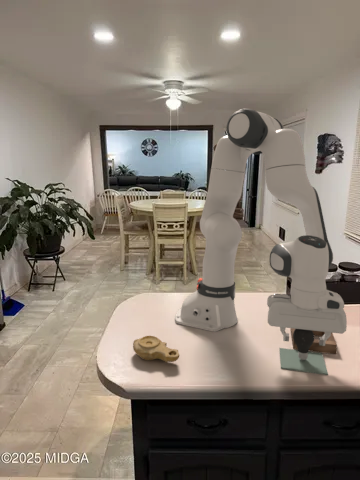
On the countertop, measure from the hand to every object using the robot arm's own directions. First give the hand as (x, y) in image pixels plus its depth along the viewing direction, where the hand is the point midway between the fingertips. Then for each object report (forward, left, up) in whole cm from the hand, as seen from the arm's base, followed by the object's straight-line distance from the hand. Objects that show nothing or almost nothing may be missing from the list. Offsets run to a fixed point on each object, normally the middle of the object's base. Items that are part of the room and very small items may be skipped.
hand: (303, 342), depth 91 cm
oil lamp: (-41, -8, -6) cm, 42 cm away
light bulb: (0, 0, -6) cm, 6 cm away
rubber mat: (0, 0, -6) cm, 6 cm away
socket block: (+4, +12, -6) cm, 14 cm away
